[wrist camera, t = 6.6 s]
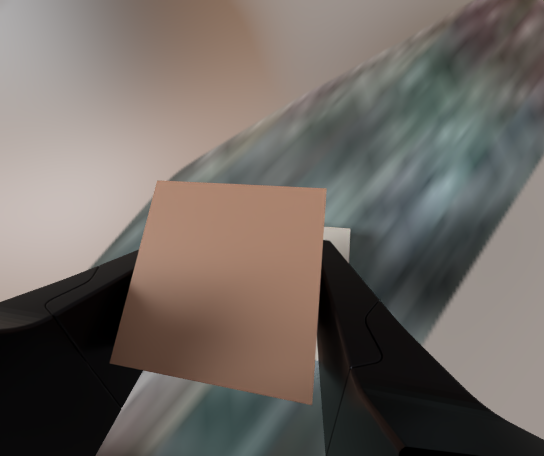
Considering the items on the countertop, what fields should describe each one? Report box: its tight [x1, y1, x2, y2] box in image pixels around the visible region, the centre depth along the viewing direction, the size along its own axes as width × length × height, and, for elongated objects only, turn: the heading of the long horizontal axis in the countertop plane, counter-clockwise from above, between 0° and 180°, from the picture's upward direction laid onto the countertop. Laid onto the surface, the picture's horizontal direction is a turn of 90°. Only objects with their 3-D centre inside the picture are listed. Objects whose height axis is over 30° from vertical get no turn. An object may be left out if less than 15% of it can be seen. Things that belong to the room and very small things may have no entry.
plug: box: [110, 181, 326, 405], centre depth 10 cm, size 5×4×10 cm
